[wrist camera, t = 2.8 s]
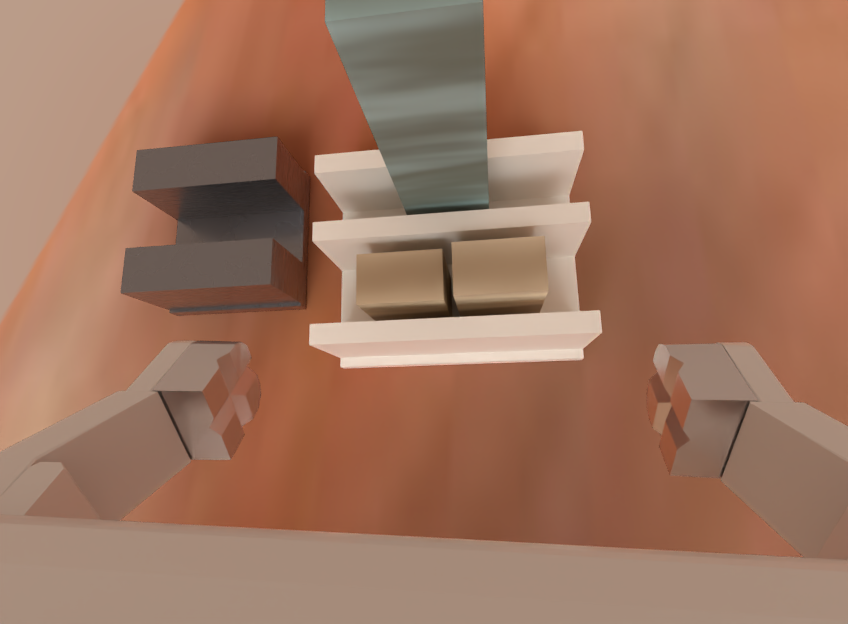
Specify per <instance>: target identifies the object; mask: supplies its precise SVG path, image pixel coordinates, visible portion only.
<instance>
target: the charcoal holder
mask: <svg viewBox="0 0 848 624" xmlns="http://www.w3.org/2000/svg"><path fill="white" fill-rule="evenodd" d="M132 191H133V192H134V193H136V194H137V195H139V196H140V197H142V198H144V199H145V200H147V201H148V202H150V203H151V204H153V205H155V206H156V207H158V208H159V209H161V210H162V211H164V212H165V213H167V214H169V215H170V216H172V217H173V218H175V219H176V220H178V226H177V237H176V245H165V246H151V247H137V248H126V251H125V259H124V268H123V277H122V285H121V293H122V294H125V295H128V296H130V297H133V298H136V299H139V300H142V301H145V302H148V303H151V304H153V305H156V306H159V307H162V308H165V309H168V310H170V313H171V314H174V315H177V316H181V315H200V314H219V313H239V312H258V311H277V310H296V309H306V293H307V261H308V230H309V198H310V176H309V175H308V174H307V172H306V171H303V170H302V168H301V167H300V166H299V164H298V163H297V162H296V160H295V159H294V158H293V156H292V155H291V154H290V152H289V151H288V150H287V148H286V147H285V146H284V145H283V143H282V142H281V141H280V139H279V138H278V137H268V138H258V139H248V140H238V141H228V142H218V143H207V144H197V145H187V146H177V147H167V148H157V149H146V150H137V155H136V163H135V172H134V181H133V190H132Z"/></svg>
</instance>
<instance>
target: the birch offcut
mask: <svg viewBox="0 0 848 624" xmlns="http://www.w3.org/2000/svg"><path fill="white" fill-rule="evenodd" d="M356 305H357V306H358V307H359V308H361V309H362V310H363V311H364V312H365V313H366V314H368V315H369V316H370V317H371V318H372V319H374V320H375V321H385V320H406V319H427V318H447V317H452V291H451V276H450V273H449V270H448V266H447V263H446V260H445V257H444V253H443V250H442V249H431V250H416V251H400V252H385V253H370V254H357V256H356Z"/></svg>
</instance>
